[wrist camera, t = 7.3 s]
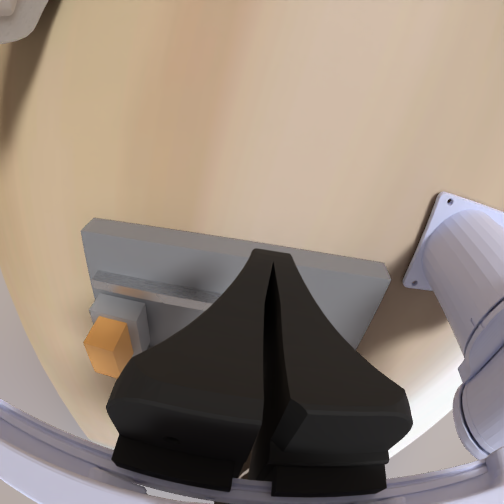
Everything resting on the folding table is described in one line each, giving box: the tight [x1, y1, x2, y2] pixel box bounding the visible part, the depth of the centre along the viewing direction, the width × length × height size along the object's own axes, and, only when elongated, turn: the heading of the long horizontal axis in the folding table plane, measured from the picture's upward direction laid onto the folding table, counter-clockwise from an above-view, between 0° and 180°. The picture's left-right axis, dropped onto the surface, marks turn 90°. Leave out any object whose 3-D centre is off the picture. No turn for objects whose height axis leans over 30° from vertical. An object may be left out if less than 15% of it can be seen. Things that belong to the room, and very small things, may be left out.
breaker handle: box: [84, 293, 150, 379], centre depth 22 cm, size 4×4×5 cm
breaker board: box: [81, 218, 391, 357], centre depth 24 cm, size 22×15×3 cm
